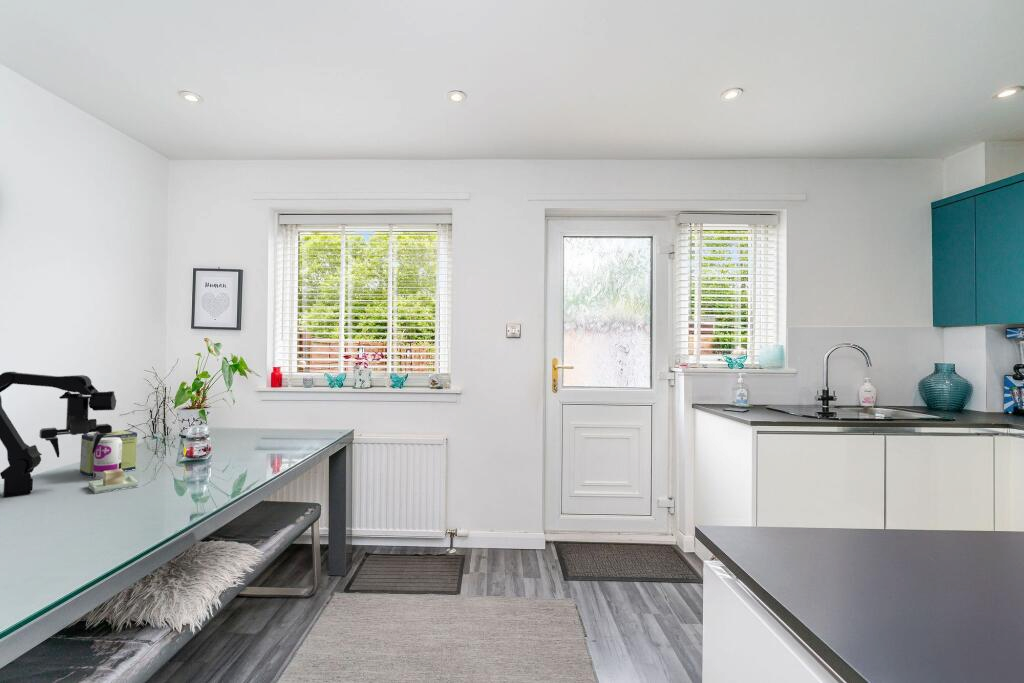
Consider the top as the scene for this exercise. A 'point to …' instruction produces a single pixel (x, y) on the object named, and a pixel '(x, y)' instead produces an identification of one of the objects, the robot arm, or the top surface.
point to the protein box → (127, 451)
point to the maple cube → (113, 477)
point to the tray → (99, 487)
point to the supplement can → (107, 456)
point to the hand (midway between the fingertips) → (75, 455)
